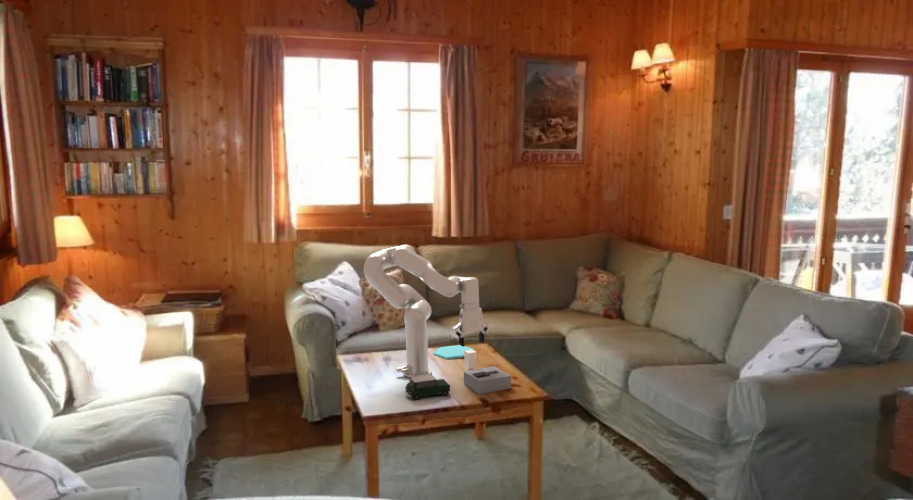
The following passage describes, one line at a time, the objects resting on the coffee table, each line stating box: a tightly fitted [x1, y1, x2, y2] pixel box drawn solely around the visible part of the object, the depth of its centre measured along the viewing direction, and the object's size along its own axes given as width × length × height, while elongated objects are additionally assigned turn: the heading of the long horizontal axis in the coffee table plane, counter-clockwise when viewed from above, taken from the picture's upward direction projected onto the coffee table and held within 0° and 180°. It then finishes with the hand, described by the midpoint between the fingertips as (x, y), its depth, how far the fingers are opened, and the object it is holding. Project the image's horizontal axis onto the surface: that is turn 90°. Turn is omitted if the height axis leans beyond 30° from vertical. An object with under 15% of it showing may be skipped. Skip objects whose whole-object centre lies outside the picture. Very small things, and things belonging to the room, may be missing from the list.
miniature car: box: [404, 374, 451, 401], centre depth 275 cm, size 9×18×8 cm, turn 110°
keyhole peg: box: [463, 349, 478, 371], centre depth 296 cm, size 5×5×12 cm
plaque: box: [433, 344, 474, 360], centre depth 331 cm, size 18×2×20 cm
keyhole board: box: [463, 365, 512, 395], centre depth 284 cm, size 15×14×6 cm
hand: (471, 344), depth 294 cm, fingers open, 9 cm apart
